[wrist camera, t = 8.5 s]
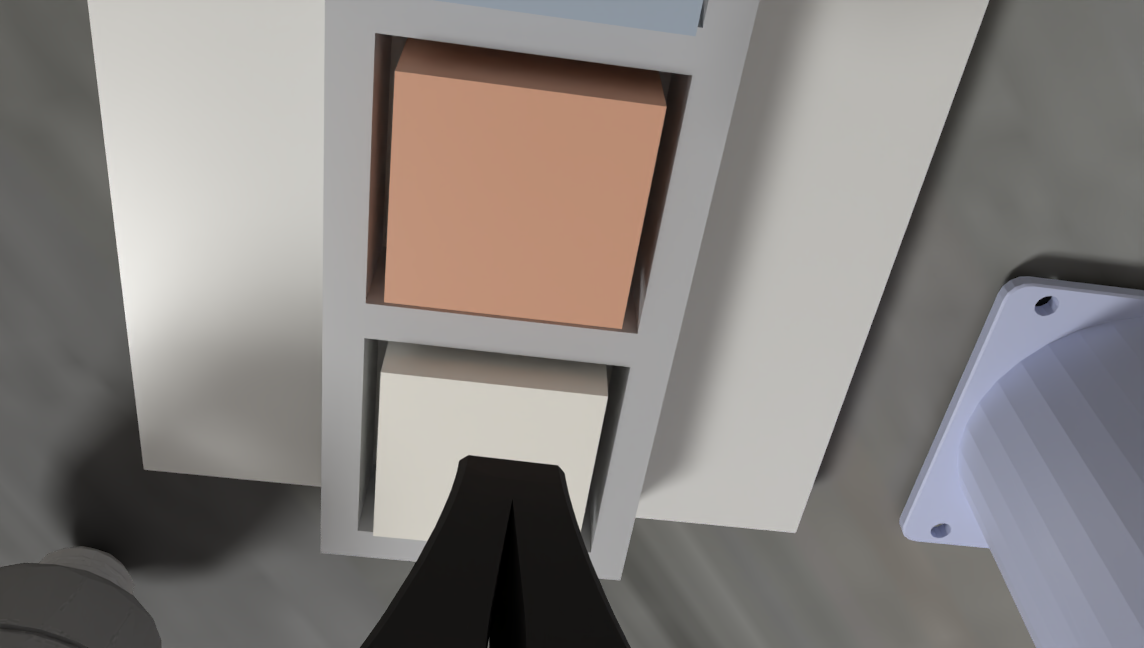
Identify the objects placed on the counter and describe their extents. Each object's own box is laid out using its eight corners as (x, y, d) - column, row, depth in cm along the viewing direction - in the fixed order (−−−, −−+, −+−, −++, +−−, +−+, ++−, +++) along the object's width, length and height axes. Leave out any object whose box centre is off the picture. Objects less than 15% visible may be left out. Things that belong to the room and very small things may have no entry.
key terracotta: (656, 60, 19) (666, 106, 17) (616, 268, 21) (621, 328, 19) (411, 26, 18) (394, 71, 16) (400, 243, 21) (384, 302, 19)
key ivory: (604, 332, 22) (607, 396, 20) (574, 485, 24) (576, 555, 22) (396, 309, 21) (380, 372, 20) (387, 467, 24) (372, 536, 22)
